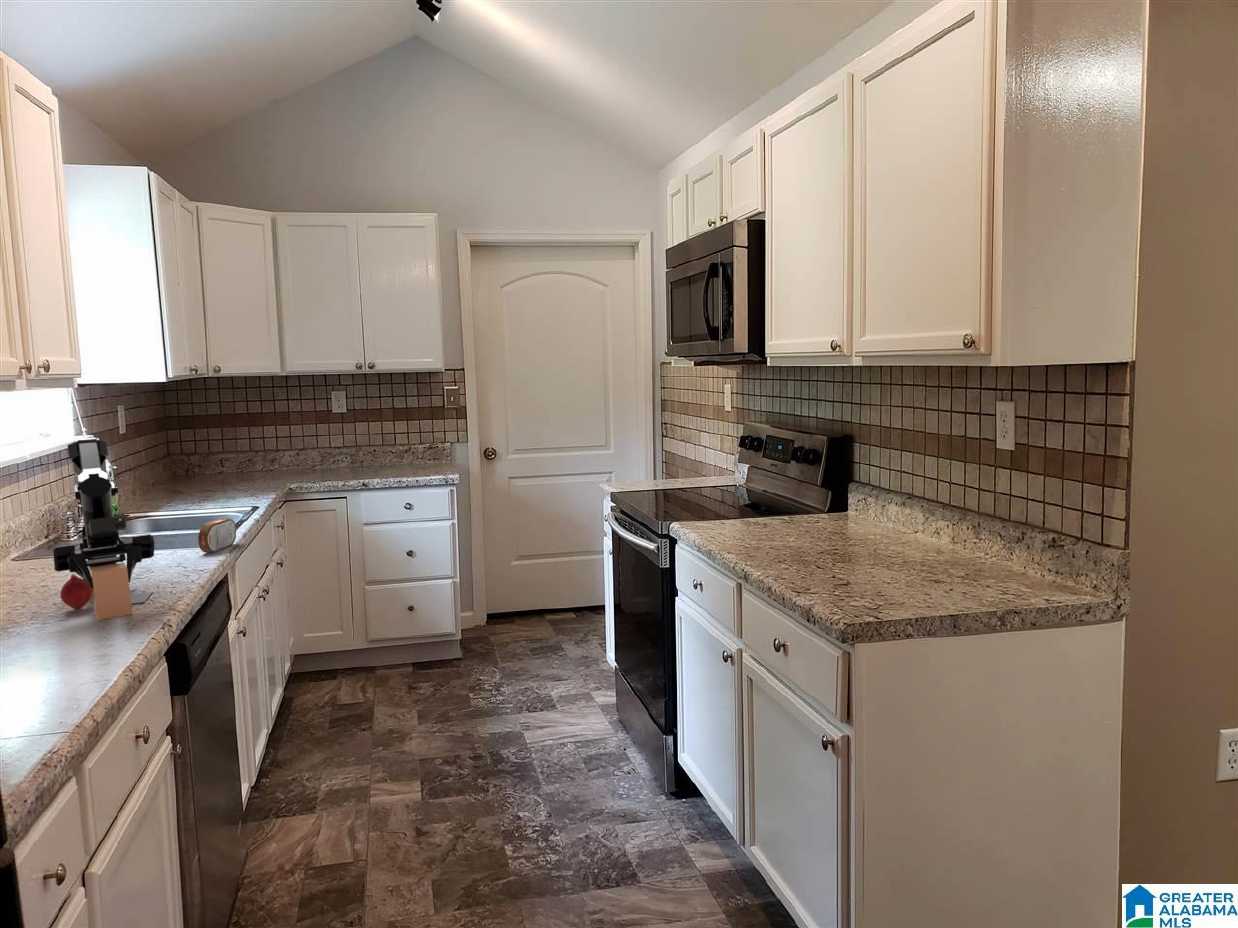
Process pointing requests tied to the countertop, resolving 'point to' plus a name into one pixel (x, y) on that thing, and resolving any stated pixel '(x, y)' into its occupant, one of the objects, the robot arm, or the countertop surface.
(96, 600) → the tan rectangular block
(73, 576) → the onion
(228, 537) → the tin
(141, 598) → the mat
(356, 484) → the countertop surface
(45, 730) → the countertop surface
